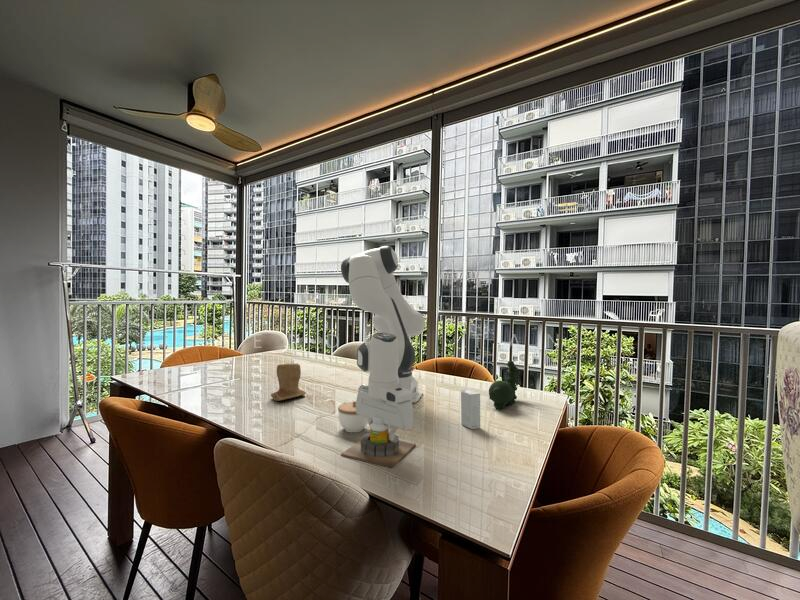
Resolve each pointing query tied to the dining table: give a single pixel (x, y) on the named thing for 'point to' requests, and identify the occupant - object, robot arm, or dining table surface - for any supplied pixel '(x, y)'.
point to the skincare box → (470, 409)
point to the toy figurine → (504, 388)
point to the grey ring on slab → (379, 451)
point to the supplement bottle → (378, 430)
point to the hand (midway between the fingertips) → (382, 436)
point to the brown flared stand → (288, 382)
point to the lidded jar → (351, 417)
